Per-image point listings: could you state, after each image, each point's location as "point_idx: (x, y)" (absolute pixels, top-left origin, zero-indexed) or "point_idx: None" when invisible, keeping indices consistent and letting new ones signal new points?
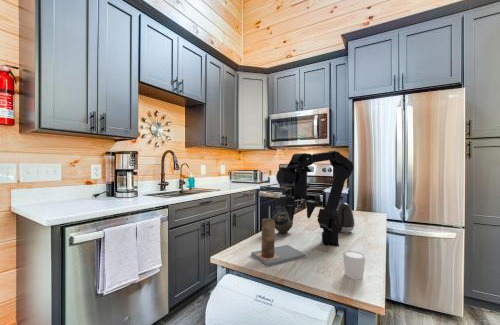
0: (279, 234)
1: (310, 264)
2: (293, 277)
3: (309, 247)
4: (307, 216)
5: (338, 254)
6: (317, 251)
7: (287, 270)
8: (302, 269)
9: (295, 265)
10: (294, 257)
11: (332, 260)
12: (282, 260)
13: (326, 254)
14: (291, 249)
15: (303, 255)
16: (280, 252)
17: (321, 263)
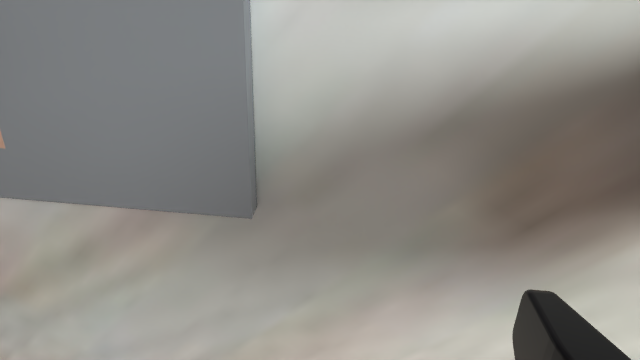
0: None
1: (199, 305)
2: (6, 348)
3: (469, 66)
4: (533, 322)
5: None
6: (444, 184)
7: (5, 282)
8: (106, 319)
9: (91, 264)
10: (128, 205)
11: (390, 344)
12: (6, 194)
13: (452, 265)
14: (196, 64)
15: (227, 213)
16: (47, 66)
17: (281, 332)
